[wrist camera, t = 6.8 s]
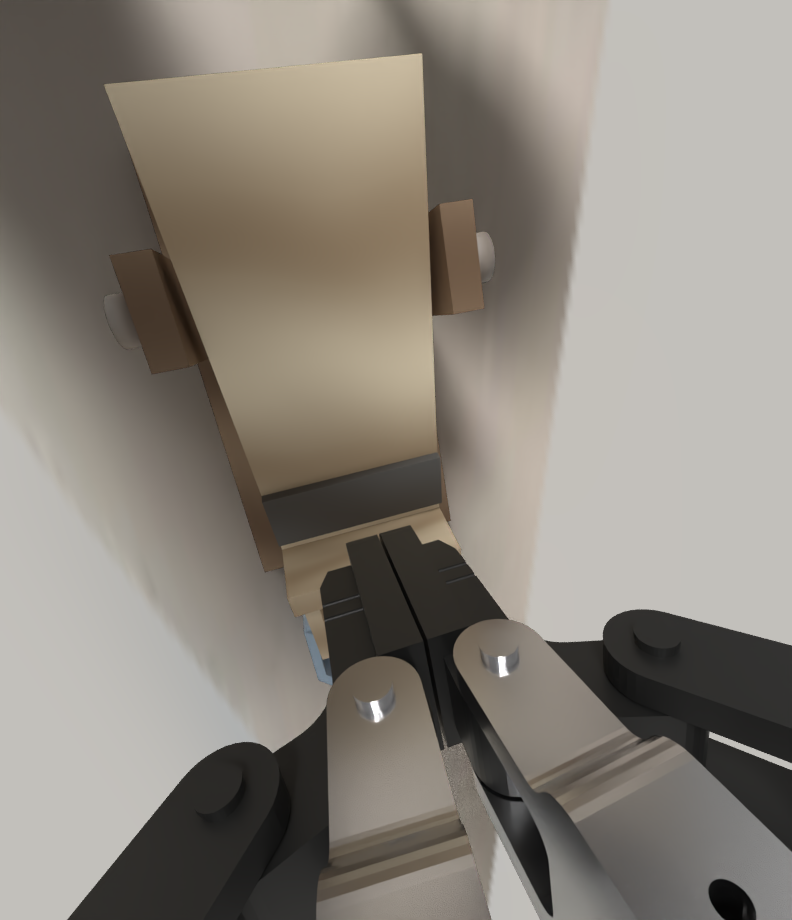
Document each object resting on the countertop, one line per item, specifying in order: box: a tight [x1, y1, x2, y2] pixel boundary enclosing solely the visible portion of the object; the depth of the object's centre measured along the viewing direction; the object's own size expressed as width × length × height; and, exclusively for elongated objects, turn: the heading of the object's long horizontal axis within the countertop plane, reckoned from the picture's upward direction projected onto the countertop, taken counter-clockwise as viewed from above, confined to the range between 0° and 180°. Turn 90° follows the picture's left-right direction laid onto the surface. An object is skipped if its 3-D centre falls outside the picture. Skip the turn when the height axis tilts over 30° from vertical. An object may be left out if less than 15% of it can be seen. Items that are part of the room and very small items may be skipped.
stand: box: [104, 149, 495, 572], centre depth 15 cm, size 17×9×9 cm, turn 11°
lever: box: [104, 53, 461, 660], centre depth 13 cm, size 17×6×3 cm, turn 10°
